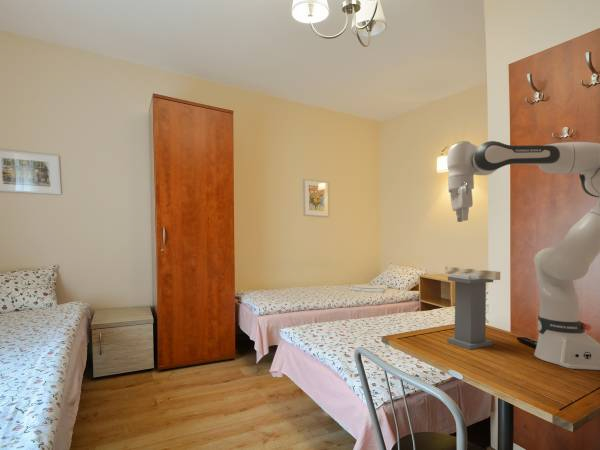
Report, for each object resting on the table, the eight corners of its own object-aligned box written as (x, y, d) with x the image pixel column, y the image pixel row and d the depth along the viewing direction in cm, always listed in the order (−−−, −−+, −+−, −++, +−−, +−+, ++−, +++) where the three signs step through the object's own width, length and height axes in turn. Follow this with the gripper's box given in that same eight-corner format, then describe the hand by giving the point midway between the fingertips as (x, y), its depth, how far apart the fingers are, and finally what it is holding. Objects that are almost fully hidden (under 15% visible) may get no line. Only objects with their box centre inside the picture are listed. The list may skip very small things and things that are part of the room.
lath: (445, 273, 152) (445, 266, 152) (449, 273, 153) (450, 266, 153) (495, 280, 132) (495, 272, 132) (500, 279, 133) (500, 271, 133)
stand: (447, 342, 139) (447, 273, 140) (469, 338, 146) (470, 272, 146) (469, 349, 130) (470, 276, 131) (493, 344, 137) (493, 275, 138)
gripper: (476, 179, 122) (478, 219, 121) (464, 188, 142) (465, 222, 141) (456, 181, 124) (458, 220, 123) (447, 189, 143) (449, 222, 143)
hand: (462, 221), depth 132 cm, fingers open, 8 cm apart
